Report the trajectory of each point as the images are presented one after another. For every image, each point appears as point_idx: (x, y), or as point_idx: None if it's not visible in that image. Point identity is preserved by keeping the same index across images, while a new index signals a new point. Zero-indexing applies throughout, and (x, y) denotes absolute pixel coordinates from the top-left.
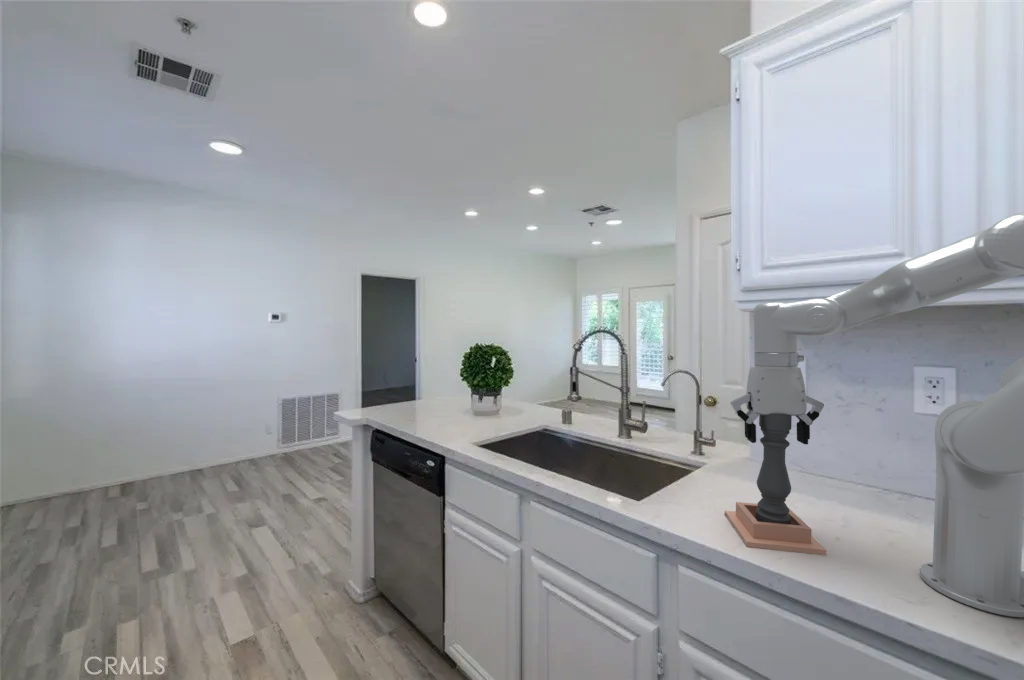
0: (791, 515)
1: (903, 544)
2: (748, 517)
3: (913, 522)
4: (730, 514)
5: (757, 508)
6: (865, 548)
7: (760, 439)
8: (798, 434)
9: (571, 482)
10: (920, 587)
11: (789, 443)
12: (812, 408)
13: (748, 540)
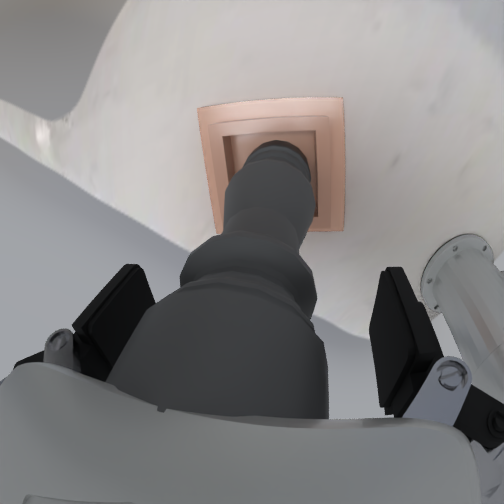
0: (318, 170)
1: (478, 169)
2: (219, 204)
3: None
4: (205, 124)
5: (246, 162)
6: (419, 191)
7: (180, 285)
8: (387, 310)
9: (2, 106)
10: (410, 279)
11: (309, 318)
12: (489, 467)
13: (220, 228)
